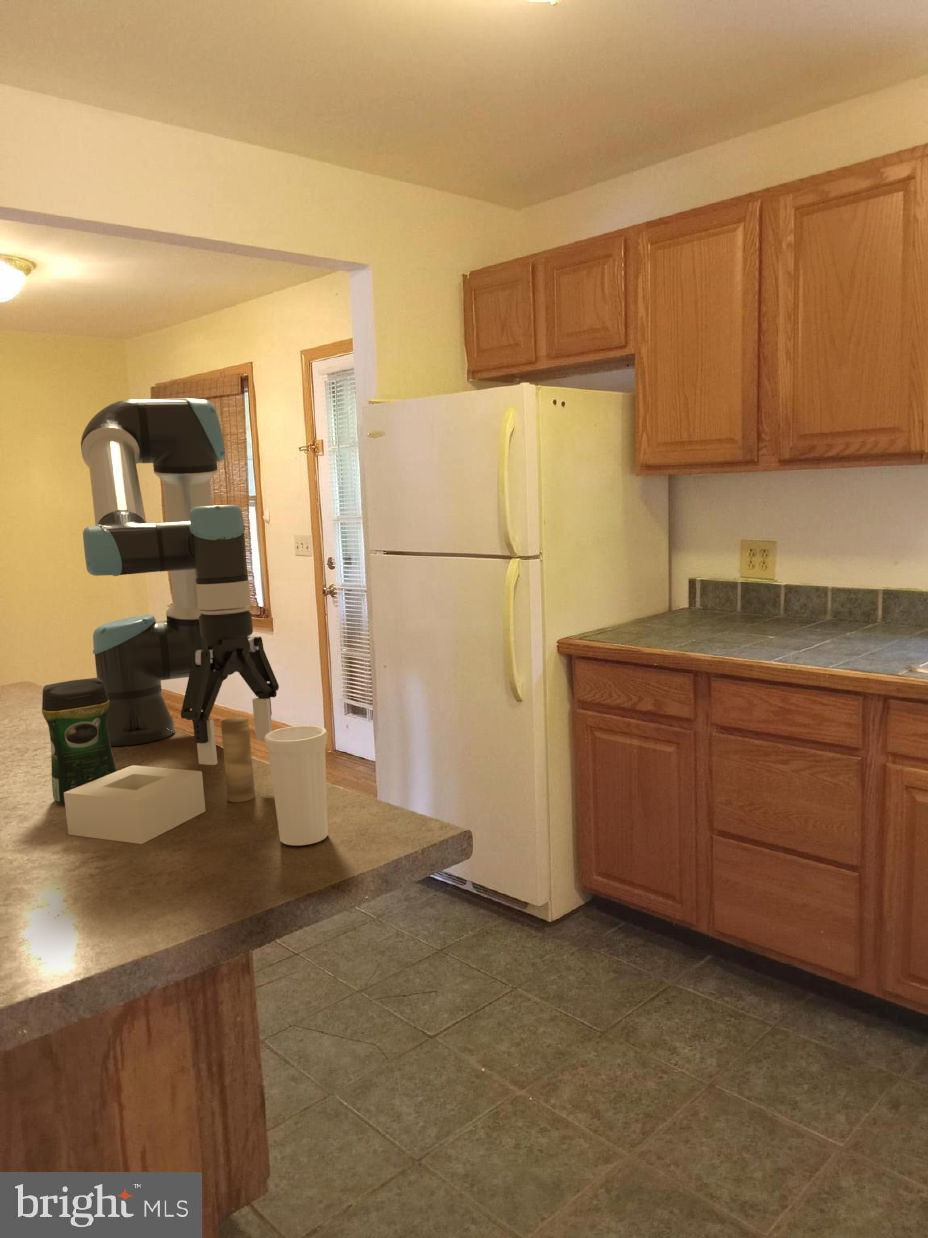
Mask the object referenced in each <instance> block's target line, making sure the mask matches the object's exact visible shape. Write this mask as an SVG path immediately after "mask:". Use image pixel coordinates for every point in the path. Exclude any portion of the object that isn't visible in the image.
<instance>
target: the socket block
mask: <svg viewBox="0 0 928 1238" xmlns="http://www.w3.org/2000/svg"><path fill="white" fill-rule="evenodd" d="M64 800H65V805H64V808H65V816H66V823H67V824H66V825H67V833H68V835H69V836H70V835H71V836H78V837H85V838H91V839H97V840H98V839H100V840H108V841H114V842H115V841H116V842H123V843H130V844H137V845H143V844H145V843H147V842H149V841H150V840H152V839H154V838H157V837H158V836H160V835H162V834H165V833H166V832H168V831H170V830H172V829H174V828H176V827H178V826H180V825H181V824H184V823H187V821H189V820H192V819H193V818H195V817H197V816H199V815H201V814H203V813H205V812H206V811H207V810H206V801H205V800H206V799H205V793H204V781H203V772H202V771H201V770H191V769H179V768H169V767H168V768H167V767H158V766H157V767H156V766H145V765H134V764H133V765H129V766H127V767H124V768H122V769H119V770H117V772H114V773H112V774H109V775H107V776H104V777H102V778H99V779H97V780H94V781H92V782H89V783H87V784H84V785H82V786H79V787H77V788H74V789H72V790H69V791H67V792H64Z"/></svg>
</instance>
